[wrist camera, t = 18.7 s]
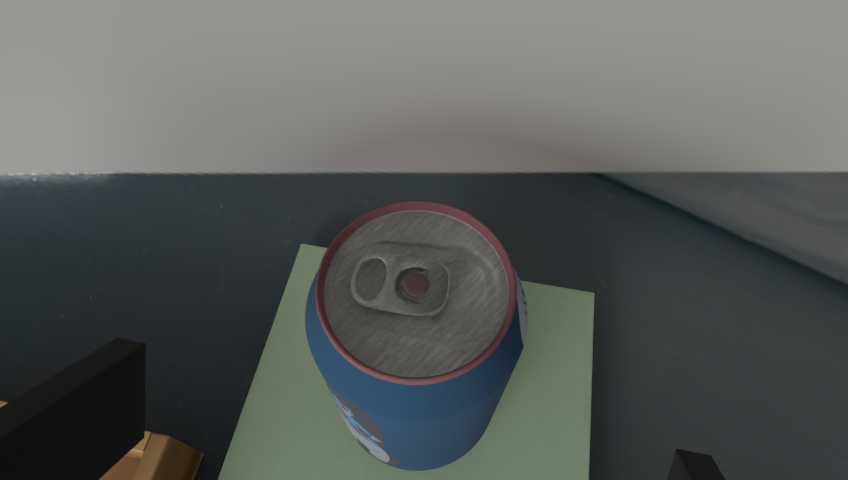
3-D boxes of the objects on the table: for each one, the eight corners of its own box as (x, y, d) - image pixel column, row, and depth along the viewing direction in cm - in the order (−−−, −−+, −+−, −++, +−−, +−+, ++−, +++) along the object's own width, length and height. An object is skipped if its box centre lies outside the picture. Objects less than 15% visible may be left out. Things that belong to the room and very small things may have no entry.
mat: (588, 302, 30) (594, 292, 29) (578, 607, 22) (585, 609, 21) (305, 253, 31) (300, 243, 30) (210, 526, 24) (201, 524, 23)
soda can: (498, 339, 27) (545, 200, 17) (482, 488, 24) (530, 427, 13) (362, 317, 28) (328, 169, 17) (327, 460, 24) (258, 380, 14)
